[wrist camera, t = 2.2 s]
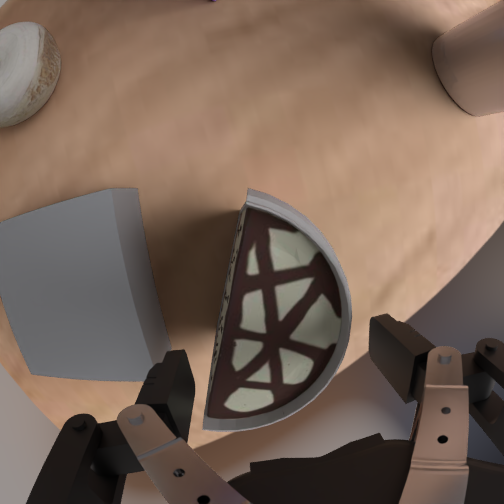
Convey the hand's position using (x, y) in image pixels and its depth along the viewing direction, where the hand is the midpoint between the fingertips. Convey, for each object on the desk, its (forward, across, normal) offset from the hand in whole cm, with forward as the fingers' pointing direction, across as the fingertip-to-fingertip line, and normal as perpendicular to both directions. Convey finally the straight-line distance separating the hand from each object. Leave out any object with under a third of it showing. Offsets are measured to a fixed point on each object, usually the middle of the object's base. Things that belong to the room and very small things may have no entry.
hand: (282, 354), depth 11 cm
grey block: (+11, +14, -2) cm, 18 cm away
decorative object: (+10, +17, -20) cm, 28 cm away
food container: (+10, -1, 0) cm, 10 cm away
